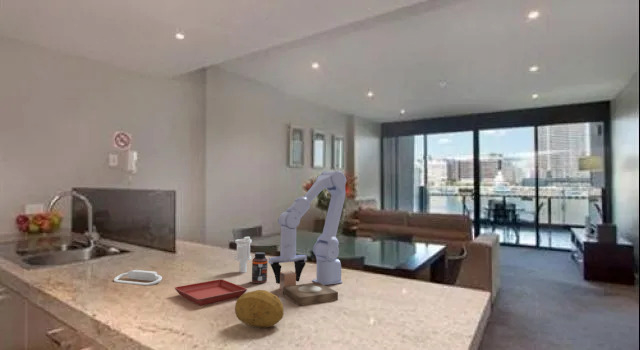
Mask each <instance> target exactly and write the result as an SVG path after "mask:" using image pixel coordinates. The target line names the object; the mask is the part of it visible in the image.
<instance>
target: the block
mask: <svg viewBox="0 0 640 350" xmlns="http://www.w3.org/2000/svg"><path fill="white" fill-rule="evenodd" d="M292 285H297V281H296V273H295V271H292V270H287V271H280V284H279V289H280V290H282V291H283V287H285V286H292Z"/></svg>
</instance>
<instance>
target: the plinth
mask: <svg viewBox="0 0 640 350" xmlns="http://www.w3.org/2000/svg"><path fill="white" fill-rule="evenodd" d="M282 295H284V296H286V298H288V299H289V300H291V301H293V302H294V303H295V304H297V305H298V306H306V305H312V304H319V303H320V304H321V303H325V302H331V301H338V299H339V292H338V291H337V290H334V289H333V288H330V287H329V286H328V285H323V284H321V283H319V282H308V283H302V284H296V285H292V286H285V287H283V290H282Z"/></svg>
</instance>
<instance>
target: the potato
mask: <svg viewBox="0 0 640 350" xmlns="http://www.w3.org/2000/svg"><path fill="white" fill-rule="evenodd" d="M234 306H235V307H234V313H235V316H236V318H237V319H238V320H239V321H240V322H242V323H244V324H246V325H248V326H250V327H255V328H260V329H261V328H262V329H263V328H266V329H268V328H270V327H274V326H275V325H277V324H278V323H279V322H280V321H281V320H282V319H283V318H284V314H285V313H284V305H283V303H282V300H281V299H280V298H279V297H278V296H277V295H276V294H274V293H272V292H270V291H268V290H263V289H257V290H253V291H246V292H245V293H244V294H243V295H241V296H240V297H239V298H236V302H235V305H234Z"/></svg>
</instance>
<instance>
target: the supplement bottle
mask: <svg viewBox="0 0 640 350" xmlns="http://www.w3.org/2000/svg"><path fill="white" fill-rule="evenodd" d="M251 260H252V261H251V266H252V268H251V282H252V283H254V284H265V283H266V282H267V281H268V258H267V257H266V253H265V252H262V251H258V252H257V251H256V252H255V253H254V258H252V259H251Z"/></svg>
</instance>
